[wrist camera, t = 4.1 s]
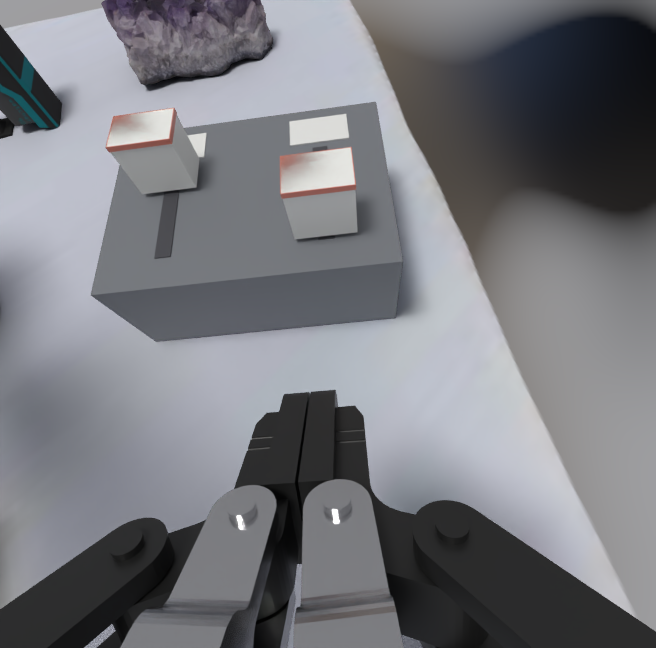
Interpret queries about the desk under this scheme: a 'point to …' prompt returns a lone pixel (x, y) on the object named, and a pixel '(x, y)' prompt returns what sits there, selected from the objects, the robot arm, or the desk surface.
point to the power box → (252, 236)
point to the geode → (188, 35)
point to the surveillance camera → (23, 91)
